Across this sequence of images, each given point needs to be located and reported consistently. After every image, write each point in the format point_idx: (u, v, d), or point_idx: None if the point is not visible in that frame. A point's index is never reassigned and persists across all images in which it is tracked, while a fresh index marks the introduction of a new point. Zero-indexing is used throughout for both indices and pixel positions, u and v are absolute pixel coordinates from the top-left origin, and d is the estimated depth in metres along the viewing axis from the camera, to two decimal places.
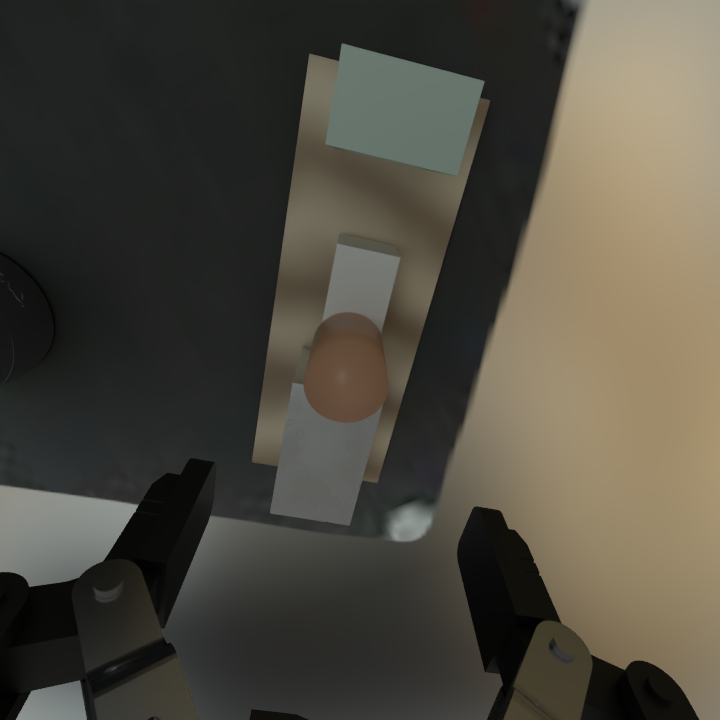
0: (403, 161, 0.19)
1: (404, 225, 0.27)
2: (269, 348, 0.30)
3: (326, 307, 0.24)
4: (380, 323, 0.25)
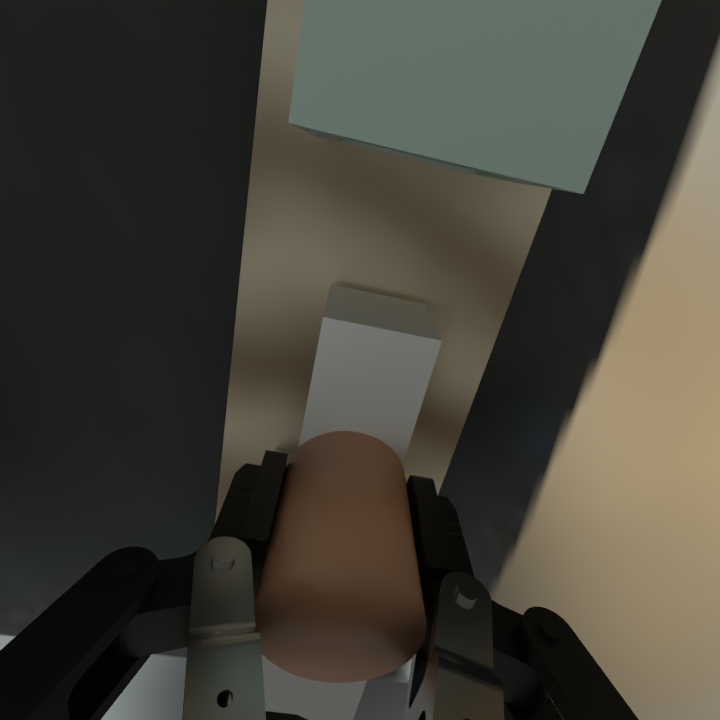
0: (465, 161, 0.09)
1: (440, 268, 0.16)
2: (224, 451, 0.19)
3: (305, 423, 0.14)
4: (402, 448, 0.14)
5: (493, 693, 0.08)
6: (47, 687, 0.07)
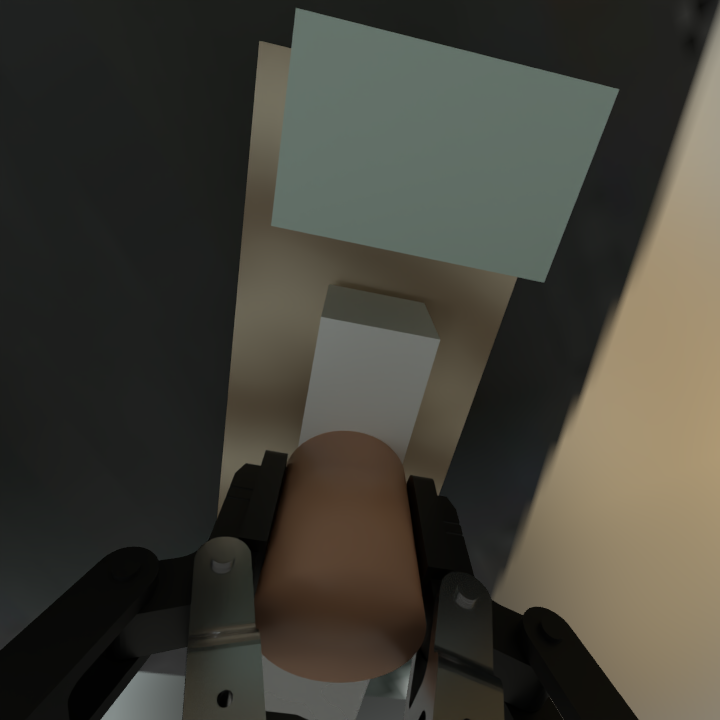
0: (434, 256, 0.09)
1: None
2: (222, 485, 0.20)
3: (305, 423, 0.14)
4: (401, 447, 0.14)
5: (493, 693, 0.08)
6: (47, 687, 0.07)
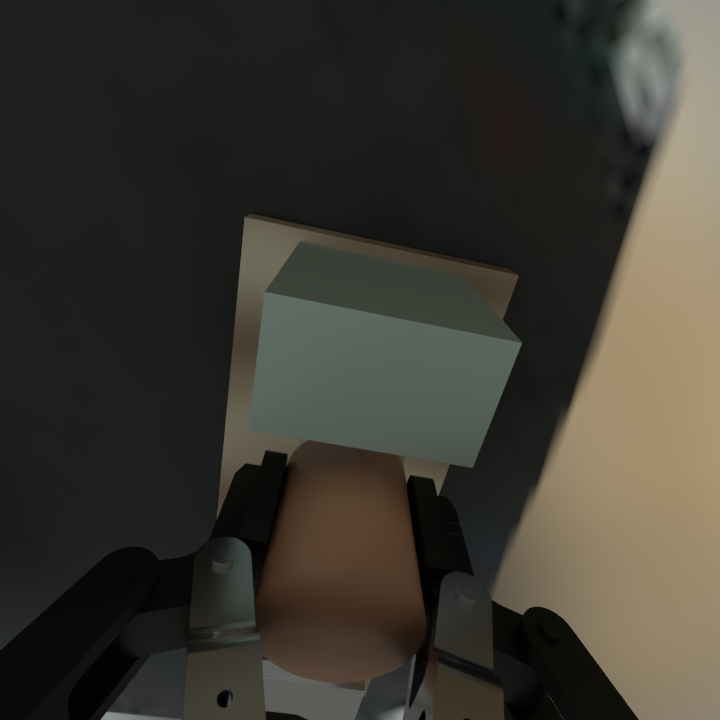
0: (381, 450, 0.11)
1: None
2: None
3: None
4: None
5: (493, 693, 0.08)
6: (48, 687, 0.07)
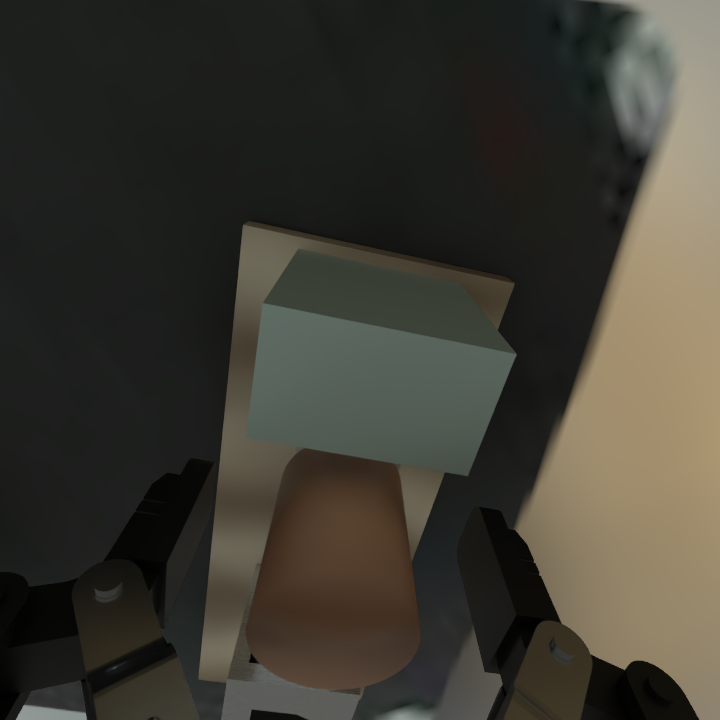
0: (377, 459, 0.12)
1: None
2: (211, 566, 0.22)
3: None
4: None
5: None
6: None
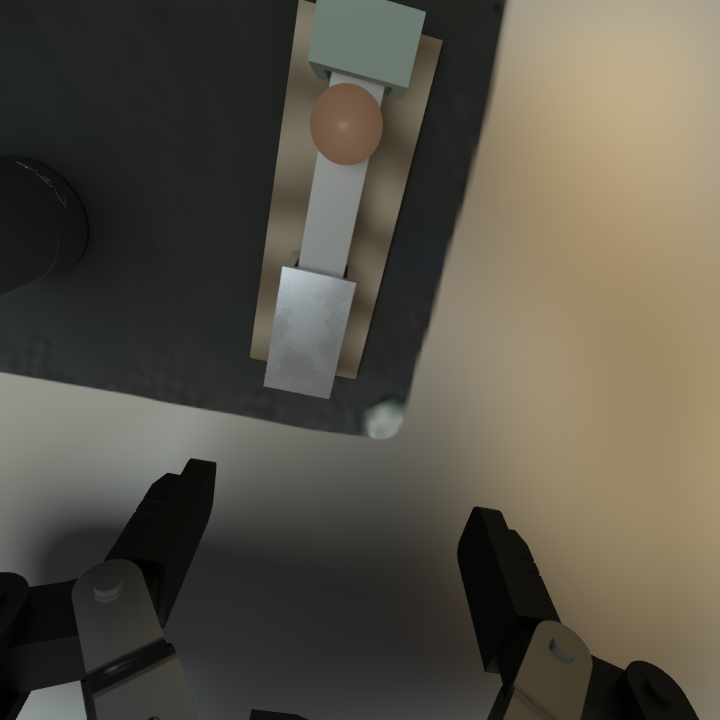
0: (366, 75, 0.26)
1: None
2: (265, 253, 0.36)
3: None
4: None
5: None
6: None
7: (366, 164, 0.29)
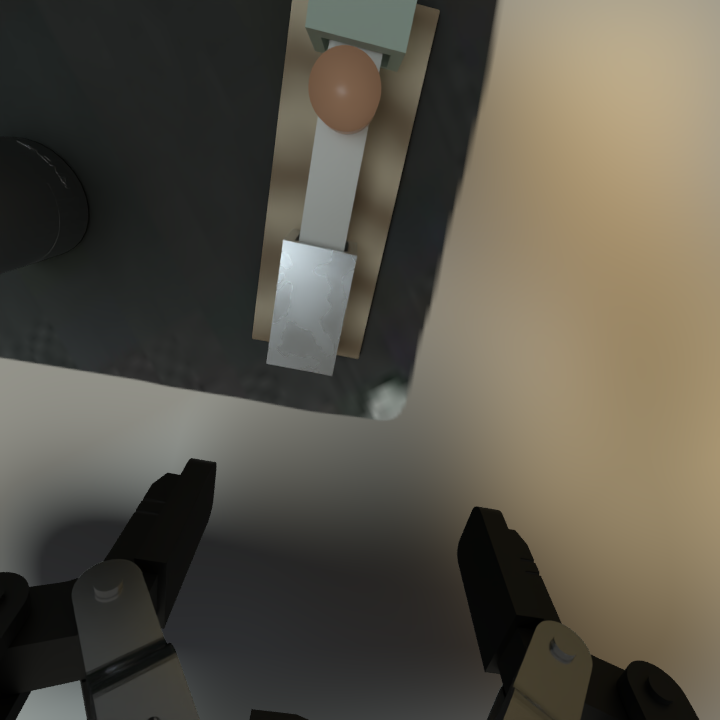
0: (364, 40, 0.26)
1: (374, 119, 0.33)
2: (266, 231, 0.36)
3: None
4: None
5: None
6: None
7: (365, 134, 0.29)
